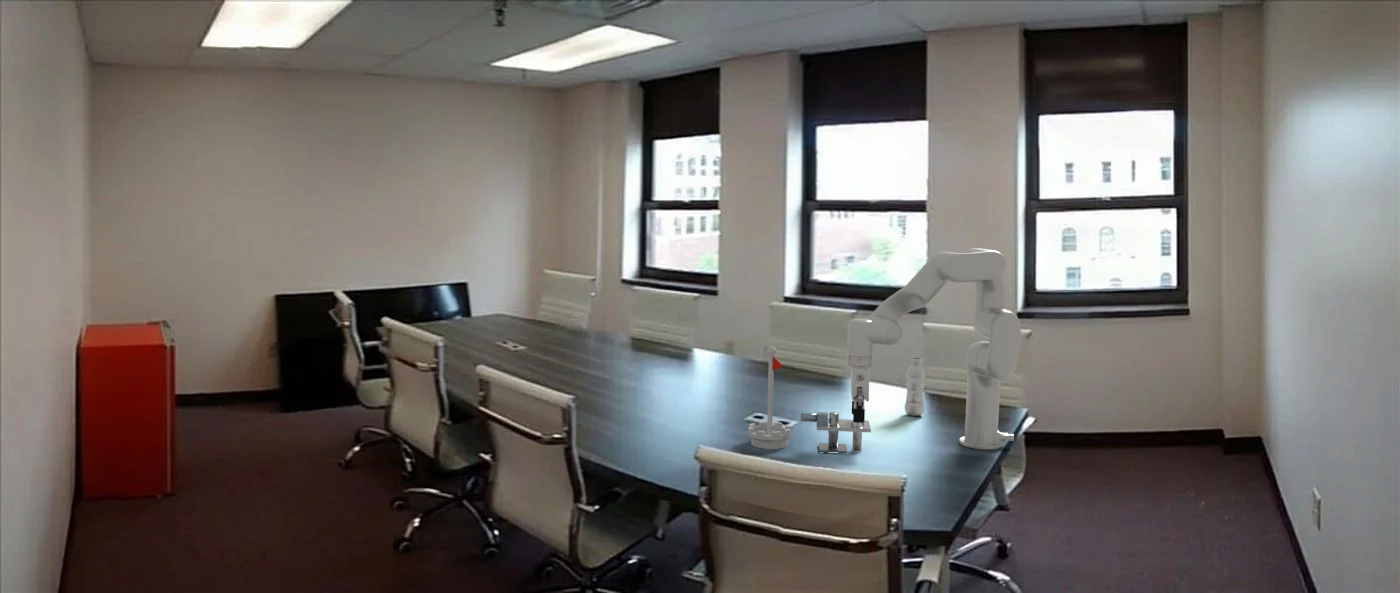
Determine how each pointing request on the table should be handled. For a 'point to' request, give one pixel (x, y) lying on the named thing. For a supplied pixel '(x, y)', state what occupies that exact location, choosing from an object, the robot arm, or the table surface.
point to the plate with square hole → (834, 429)
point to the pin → (857, 438)
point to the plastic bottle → (915, 388)
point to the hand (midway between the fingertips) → (857, 418)
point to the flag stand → (770, 417)
